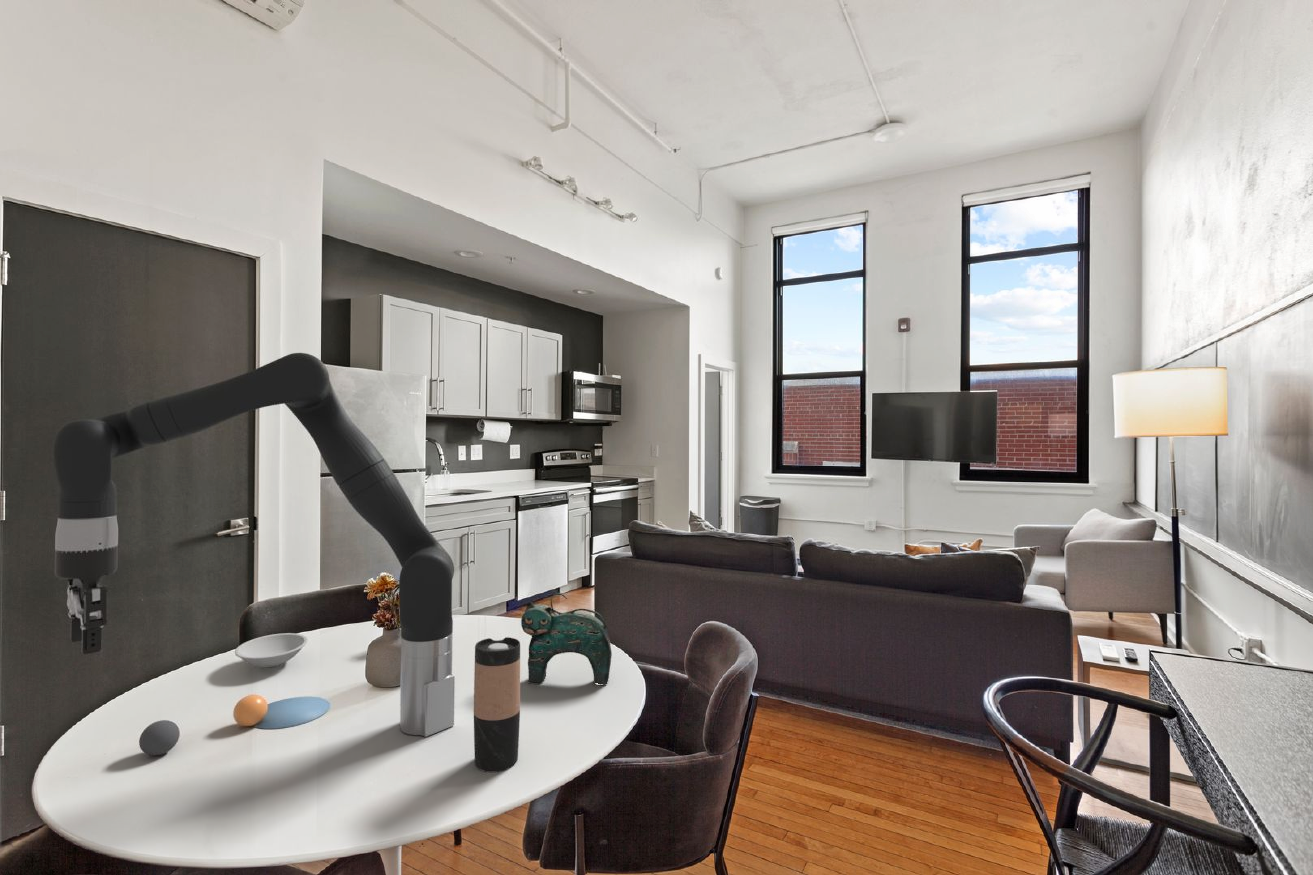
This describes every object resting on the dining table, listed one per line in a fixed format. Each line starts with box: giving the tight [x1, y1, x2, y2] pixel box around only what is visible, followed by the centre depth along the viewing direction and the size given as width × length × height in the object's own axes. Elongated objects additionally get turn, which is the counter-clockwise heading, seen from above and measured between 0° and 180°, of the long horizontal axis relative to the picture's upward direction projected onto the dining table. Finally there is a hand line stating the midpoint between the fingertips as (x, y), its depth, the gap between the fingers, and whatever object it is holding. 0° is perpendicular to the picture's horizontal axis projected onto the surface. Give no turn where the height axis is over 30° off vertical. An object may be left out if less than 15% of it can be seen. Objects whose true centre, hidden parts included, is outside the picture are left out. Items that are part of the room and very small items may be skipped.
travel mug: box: [473, 636, 521, 773], centre depth 110 cm, size 8×8×20 cm
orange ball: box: [232, 694, 268, 727], centre depth 122 cm, size 6×6×6 cm
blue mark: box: [252, 696, 331, 730], centre depth 127 cm, size 14×14×1 cm
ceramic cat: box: [520, 592, 613, 684], centre depth 145 cm, size 20×6×20 cm, turn 87°
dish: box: [234, 632, 309, 668], centre depth 151 cm, size 18×14×5 cm
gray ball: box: [138, 719, 181, 757], centre depth 110 cm, size 6×6×6 cm
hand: (85, 646), depth 103 cm, fingers open, 8 cm apart
